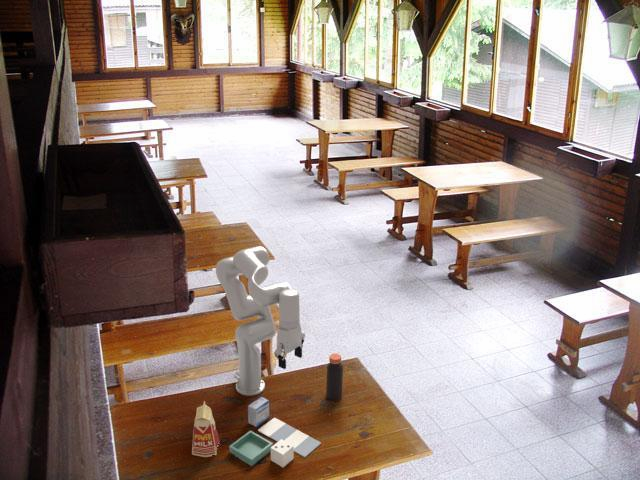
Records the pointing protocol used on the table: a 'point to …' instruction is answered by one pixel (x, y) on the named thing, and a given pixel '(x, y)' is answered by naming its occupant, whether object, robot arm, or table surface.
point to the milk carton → (204, 433)
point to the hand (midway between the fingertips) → (290, 362)
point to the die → (282, 453)
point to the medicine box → (258, 411)
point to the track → (290, 436)
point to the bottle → (334, 378)
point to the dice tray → (251, 448)
